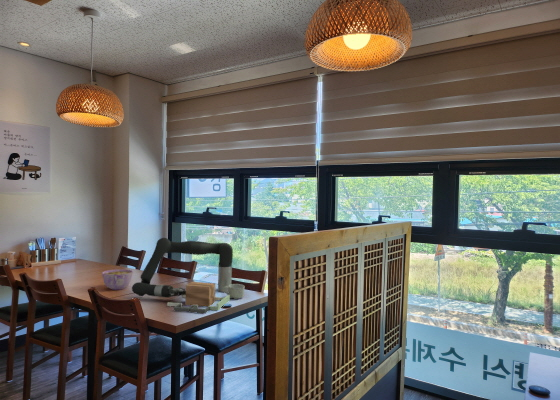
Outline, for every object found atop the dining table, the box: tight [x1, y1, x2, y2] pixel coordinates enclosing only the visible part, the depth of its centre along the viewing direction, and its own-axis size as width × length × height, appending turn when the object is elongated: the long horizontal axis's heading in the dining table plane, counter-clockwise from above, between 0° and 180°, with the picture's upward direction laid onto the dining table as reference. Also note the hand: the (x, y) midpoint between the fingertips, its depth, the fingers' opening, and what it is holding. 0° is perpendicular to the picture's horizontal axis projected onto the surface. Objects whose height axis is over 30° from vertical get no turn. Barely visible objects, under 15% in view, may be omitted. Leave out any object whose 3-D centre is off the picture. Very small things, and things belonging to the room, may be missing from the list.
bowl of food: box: [101, 268, 134, 291], centre depth 269 cm, size 20×20×12 cm
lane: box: [166, 294, 231, 314], centre depth 233 cm, size 28×32×4 cm
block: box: [184, 281, 216, 308], centre depth 237 cm, size 10×15×12 cm, turn 79°
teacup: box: [223, 283, 246, 300], centre depth 252 cm, size 14×11×8 cm
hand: (189, 293), depth 238 cm, fingers closed
